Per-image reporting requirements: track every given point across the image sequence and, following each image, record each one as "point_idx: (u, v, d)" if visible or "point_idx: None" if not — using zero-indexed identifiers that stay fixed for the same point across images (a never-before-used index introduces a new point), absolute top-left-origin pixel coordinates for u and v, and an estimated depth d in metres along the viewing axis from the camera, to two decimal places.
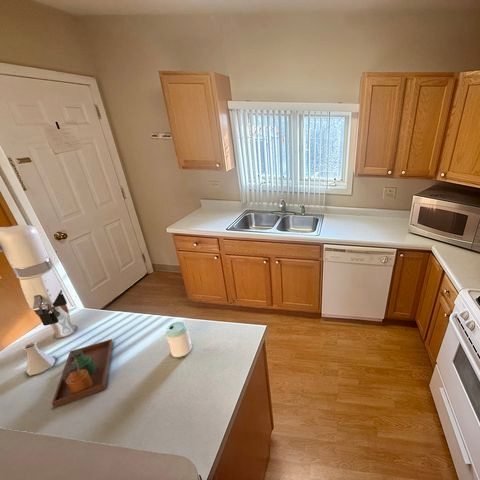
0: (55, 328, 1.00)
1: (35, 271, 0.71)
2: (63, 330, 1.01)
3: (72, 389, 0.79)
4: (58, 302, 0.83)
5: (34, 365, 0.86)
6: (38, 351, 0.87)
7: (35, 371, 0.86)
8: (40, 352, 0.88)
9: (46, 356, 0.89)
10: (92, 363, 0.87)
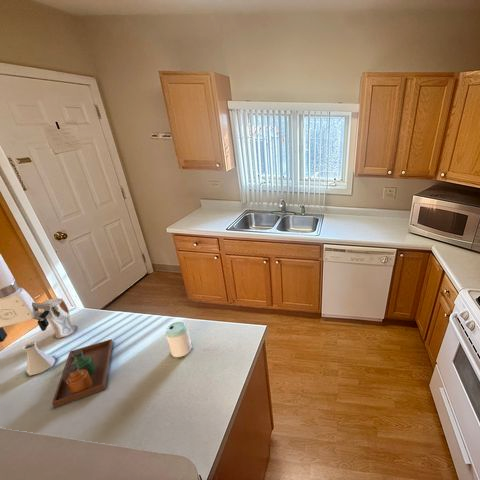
0: (55, 328, 1.00)
1: (17, 284, 0.79)
2: (63, 330, 1.01)
3: (72, 389, 0.79)
4: (3, 334, 0.81)
5: (34, 365, 0.86)
6: (38, 351, 0.87)
7: (35, 371, 0.86)
8: (40, 352, 0.88)
9: (46, 356, 0.89)
10: (92, 363, 0.87)
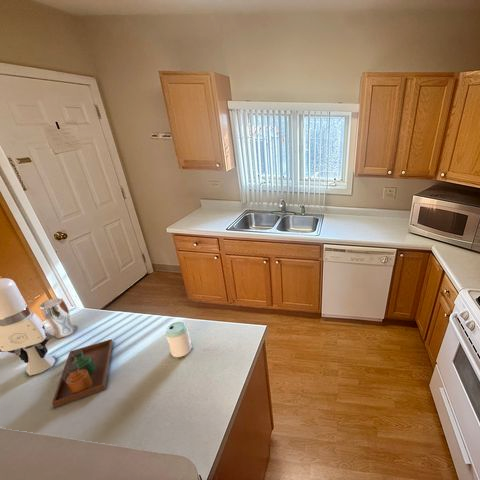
0: (55, 328, 1.00)
1: None
2: (63, 330, 1.01)
3: (72, 389, 0.79)
4: None
5: (34, 365, 0.86)
6: None
7: (35, 371, 0.86)
8: None
9: (46, 356, 0.89)
10: (92, 363, 0.87)
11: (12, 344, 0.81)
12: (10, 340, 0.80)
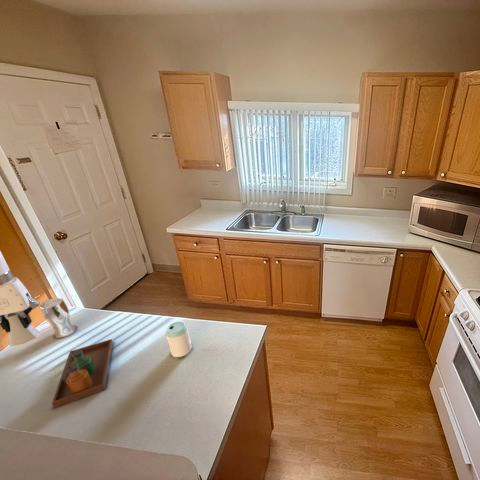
0: (55, 328, 1.00)
1: (11, 274, 0.77)
2: (63, 330, 1.01)
3: (72, 389, 0.79)
4: None
5: (17, 335, 0.81)
6: None
7: (17, 342, 0.81)
8: None
9: (30, 327, 0.83)
10: (92, 363, 0.87)
11: None
12: None
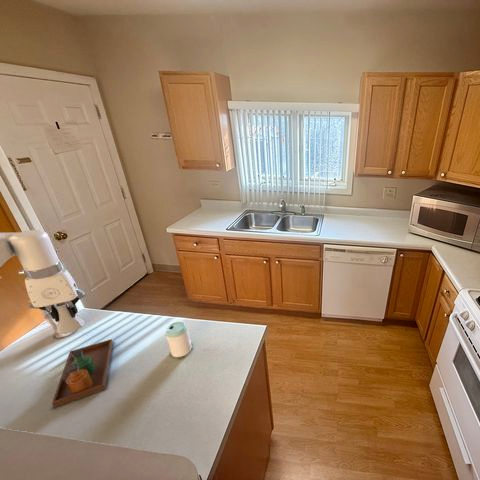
0: (55, 328, 1.00)
1: None
2: None
3: (72, 389, 0.79)
4: None
5: (65, 324, 0.84)
6: None
7: (66, 330, 0.84)
8: None
9: (76, 316, 0.86)
10: (92, 363, 0.87)
11: (44, 300, 0.78)
12: (42, 295, 0.77)
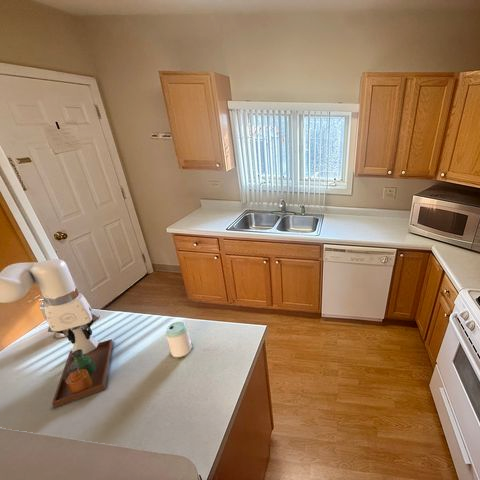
0: None
1: None
2: None
3: (72, 389, 0.79)
4: None
5: (81, 346, 0.88)
6: None
7: None
8: None
9: (91, 338, 0.91)
10: (92, 363, 0.87)
11: (62, 324, 0.82)
12: (60, 320, 0.82)
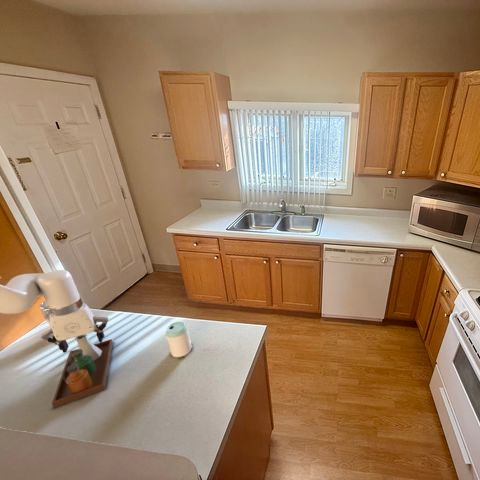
0: None
1: (81, 300, 0.86)
2: None
3: (72, 389, 0.79)
4: (66, 346, 0.88)
5: None
6: (88, 342, 0.91)
7: None
8: (90, 343, 0.91)
9: (95, 347, 0.93)
10: (92, 363, 0.87)
11: (66, 333, 0.84)
12: (65, 329, 0.83)
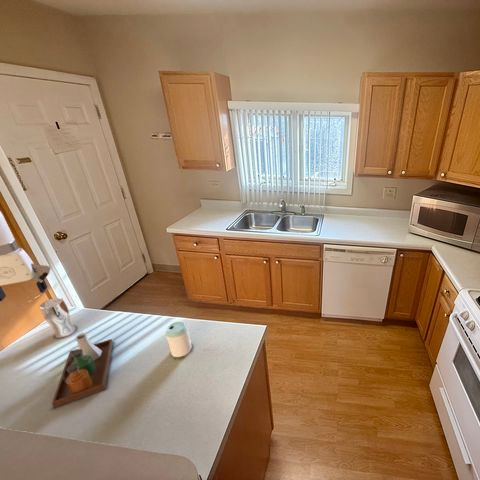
0: (55, 328, 1.00)
1: None
2: (63, 330, 1.01)
3: (72, 389, 0.79)
4: (2, 294, 0.82)
5: None
6: (88, 342, 0.91)
7: None
8: (90, 343, 0.91)
9: (95, 347, 0.93)
10: (92, 363, 0.87)
11: None
12: None
